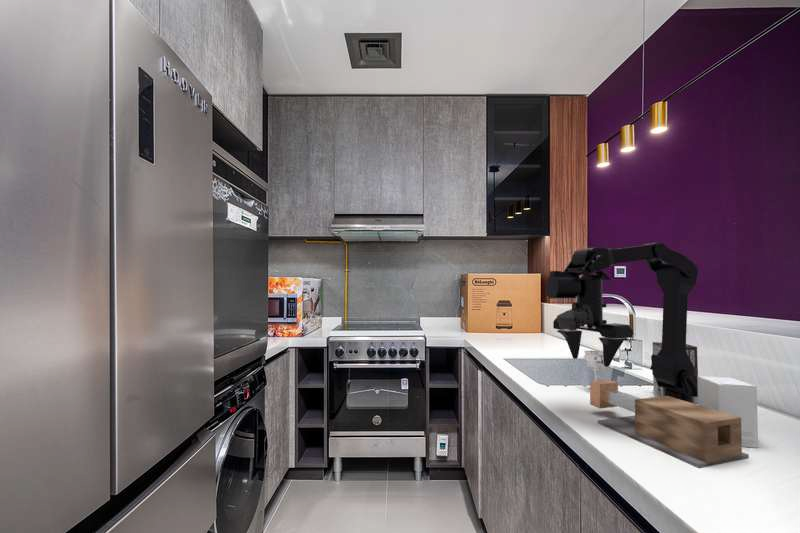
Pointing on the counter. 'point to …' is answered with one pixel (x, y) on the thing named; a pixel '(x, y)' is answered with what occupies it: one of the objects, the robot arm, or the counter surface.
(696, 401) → the coffee box
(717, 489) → the counter surface
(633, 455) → the counter surface
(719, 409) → the supplement box
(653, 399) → the housing
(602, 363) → the wineglass
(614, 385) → the shaft
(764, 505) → the counter surface
